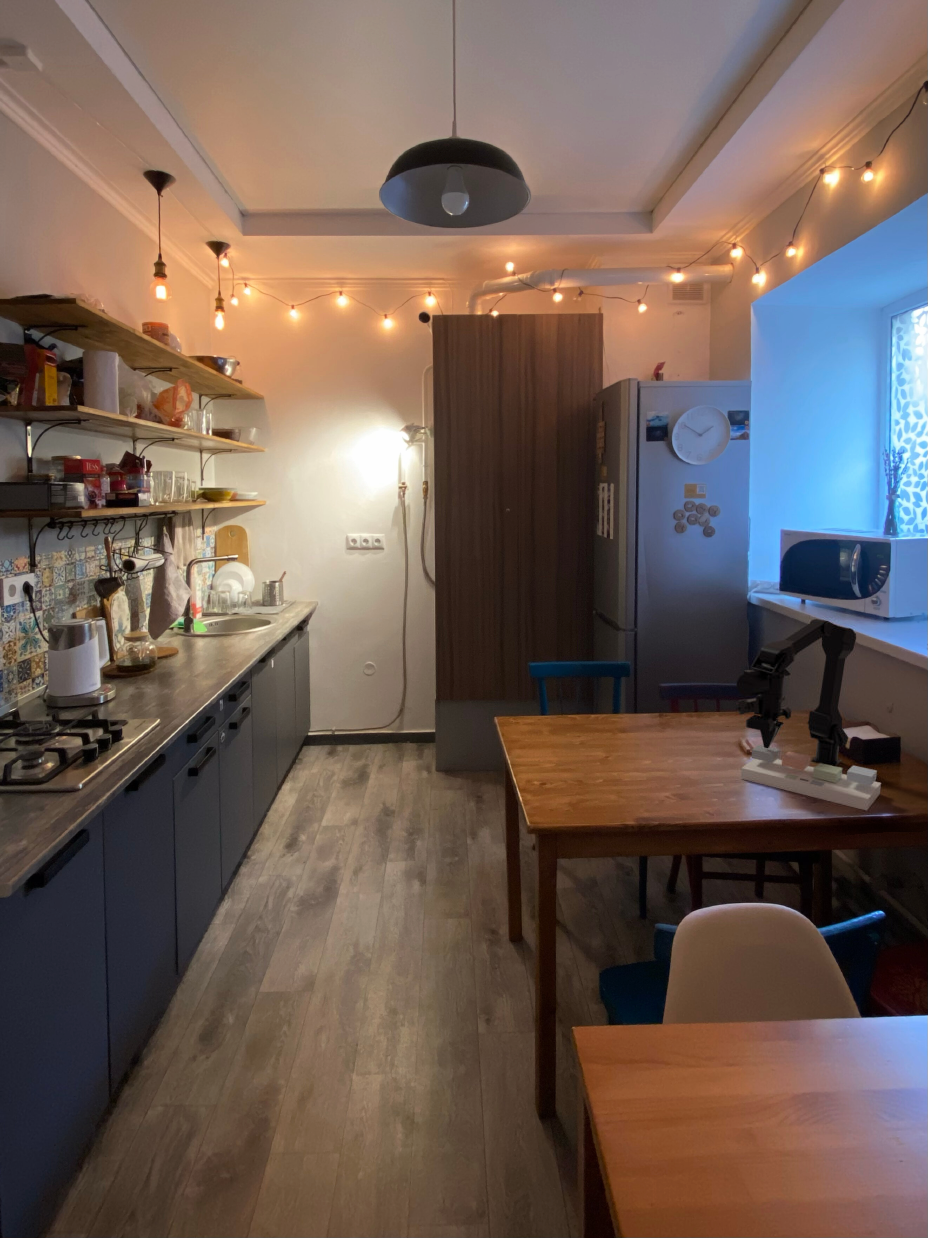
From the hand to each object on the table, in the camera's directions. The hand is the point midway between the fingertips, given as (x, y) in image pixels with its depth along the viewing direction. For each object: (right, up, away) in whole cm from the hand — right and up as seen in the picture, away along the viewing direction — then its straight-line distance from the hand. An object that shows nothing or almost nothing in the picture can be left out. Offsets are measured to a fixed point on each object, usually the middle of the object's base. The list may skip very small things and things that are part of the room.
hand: (766, 747), depth 211 cm
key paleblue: (+18, -6, -15) cm, 24 cm away
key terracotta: (+6, -4, -5) cm, 9 cm away
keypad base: (+8, -9, -7) cm, 14 cm away
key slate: (0, -3, 0) cm, 3 cm away
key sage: (+12, -6, -9) cm, 17 cm away
